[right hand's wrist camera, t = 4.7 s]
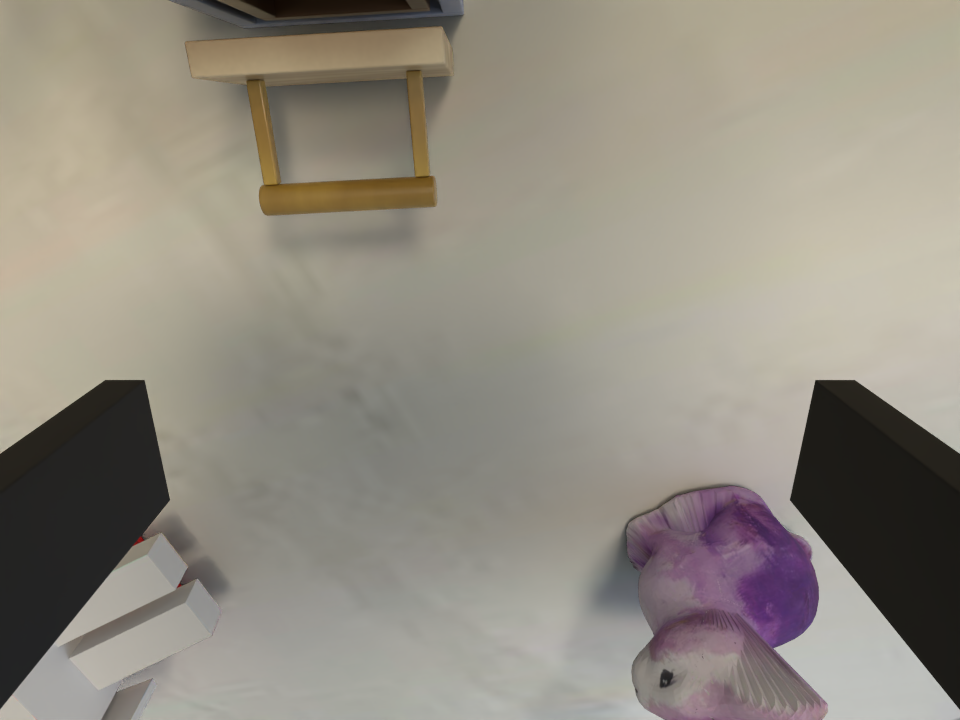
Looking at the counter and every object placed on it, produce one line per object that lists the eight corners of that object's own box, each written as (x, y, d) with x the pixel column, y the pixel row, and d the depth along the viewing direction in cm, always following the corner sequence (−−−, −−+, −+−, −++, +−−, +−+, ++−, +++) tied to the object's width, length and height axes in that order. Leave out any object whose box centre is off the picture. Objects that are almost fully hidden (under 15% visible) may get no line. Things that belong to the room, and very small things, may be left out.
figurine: (585, 555, 40) (640, 791, 26) (701, 446, 37) (834, 646, 23) (688, 627, 42) (790, 881, 28) (806, 530, 39) (985, 758, 25)
